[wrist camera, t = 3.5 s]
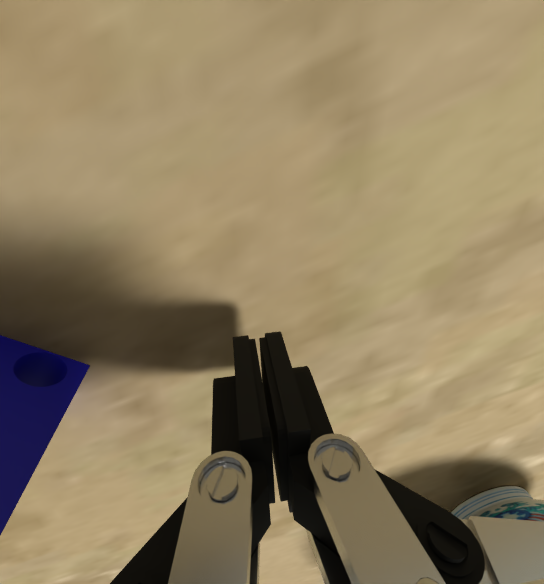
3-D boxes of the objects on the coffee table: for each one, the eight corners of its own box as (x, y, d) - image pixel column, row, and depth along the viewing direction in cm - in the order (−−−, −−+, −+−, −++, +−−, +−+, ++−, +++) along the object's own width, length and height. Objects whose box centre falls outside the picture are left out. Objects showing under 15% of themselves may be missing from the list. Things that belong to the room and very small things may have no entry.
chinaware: (381, 571, 26) (436, 722, 20) (413, 471, 19) (519, 658, 12) (533, 536, 28) (631, 664, 21) (617, 433, 21) (805, 578, 14)
